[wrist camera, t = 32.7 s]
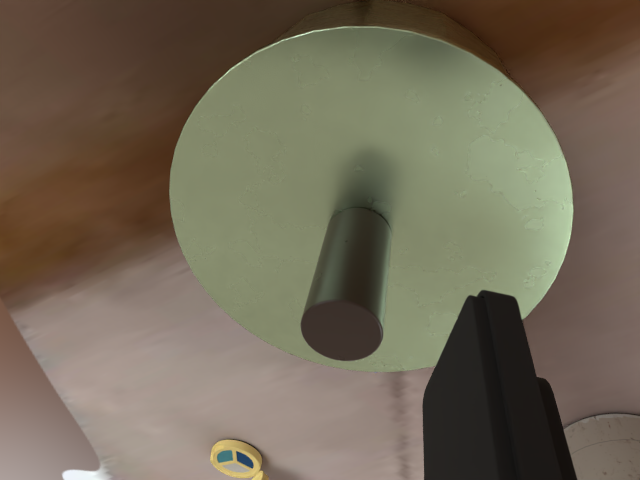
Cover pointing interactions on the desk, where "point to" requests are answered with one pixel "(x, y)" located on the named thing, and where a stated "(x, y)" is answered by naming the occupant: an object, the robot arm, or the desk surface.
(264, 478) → the eyeshadow
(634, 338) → the desk surface
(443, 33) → the tin
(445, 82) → the lid
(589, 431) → the thermos bottle
